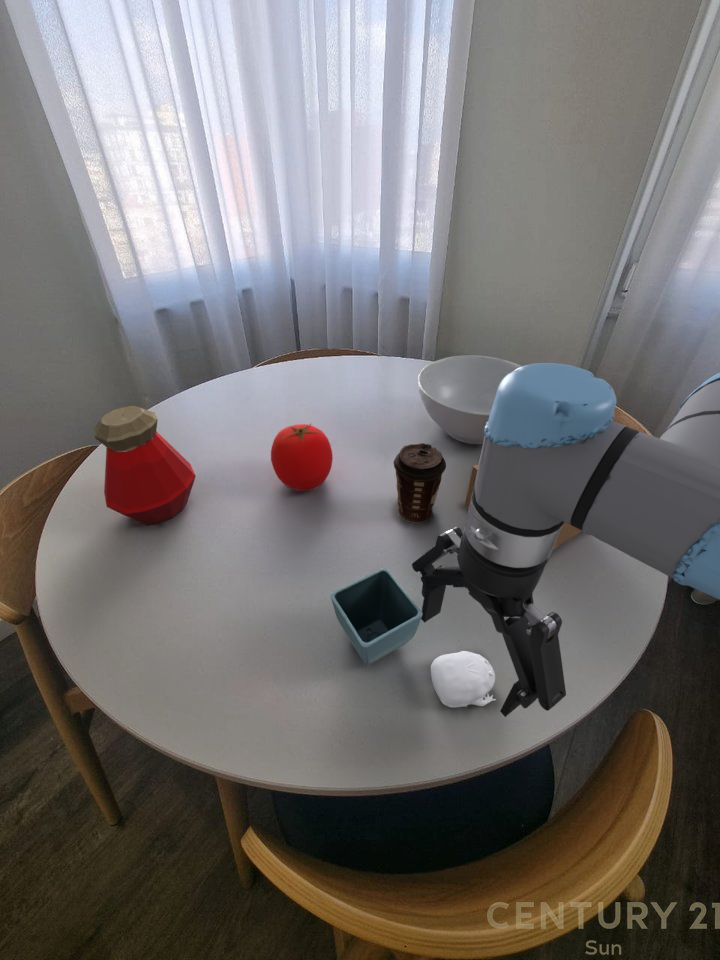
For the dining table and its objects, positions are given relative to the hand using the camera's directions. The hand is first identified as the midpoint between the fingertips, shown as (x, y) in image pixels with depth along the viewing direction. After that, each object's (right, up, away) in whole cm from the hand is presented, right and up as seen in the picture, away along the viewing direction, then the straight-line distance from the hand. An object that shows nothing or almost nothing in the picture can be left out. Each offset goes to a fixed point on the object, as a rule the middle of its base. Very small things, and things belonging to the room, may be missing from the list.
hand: (467, 657), depth 52 cm
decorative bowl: (+13, +33, +49) cm, 60 cm away
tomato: (-24, +21, +35) cm, 47 cm away
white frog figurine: (0, -5, +4) cm, 7 cm away
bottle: (-50, +16, +29) cm, 60 cm away
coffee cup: (-3, +15, +28) cm, 32 cm away
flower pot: (-11, -1, +9) cm, 14 cm away
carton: (+17, +15, +27) cm, 35 cm away
